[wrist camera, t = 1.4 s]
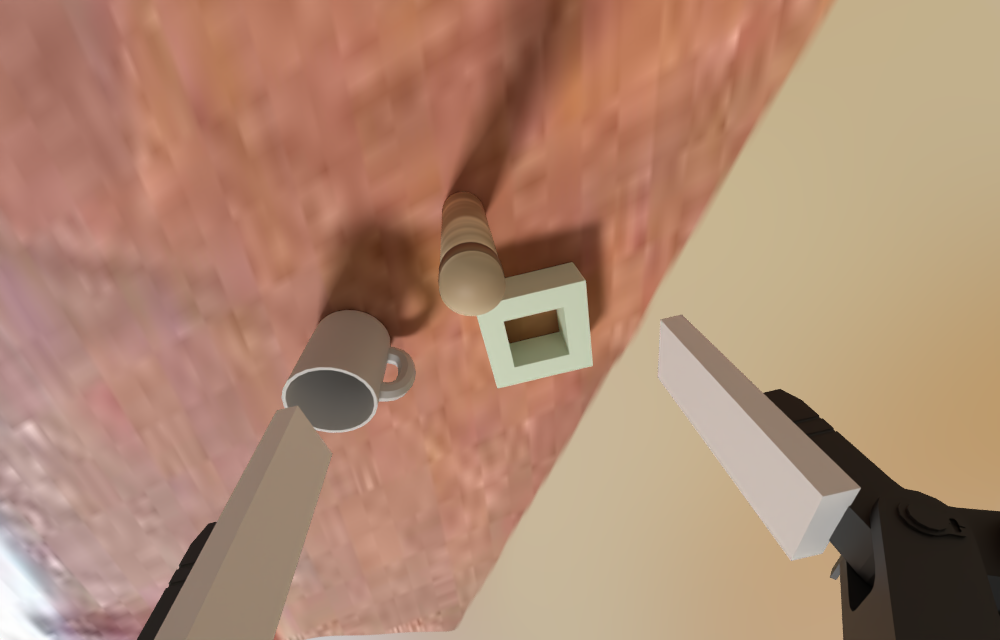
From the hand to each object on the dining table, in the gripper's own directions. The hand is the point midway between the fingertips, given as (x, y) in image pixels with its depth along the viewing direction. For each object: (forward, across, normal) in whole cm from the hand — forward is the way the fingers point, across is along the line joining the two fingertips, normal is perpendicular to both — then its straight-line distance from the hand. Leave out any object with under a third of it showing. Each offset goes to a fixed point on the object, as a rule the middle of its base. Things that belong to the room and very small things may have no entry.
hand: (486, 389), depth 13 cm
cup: (+22, -13, -10) cm, 27 cm away
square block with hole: (+22, +4, -12) cm, 25 cm away
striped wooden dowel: (+22, 0, 0) cm, 22 cm away
